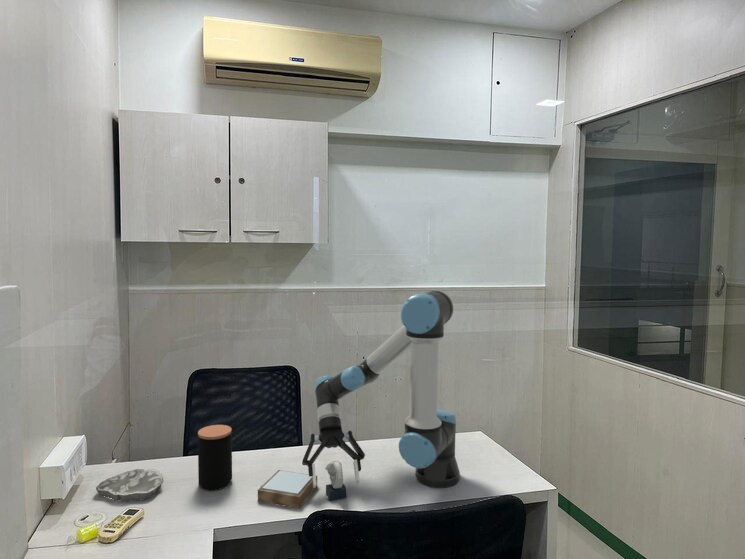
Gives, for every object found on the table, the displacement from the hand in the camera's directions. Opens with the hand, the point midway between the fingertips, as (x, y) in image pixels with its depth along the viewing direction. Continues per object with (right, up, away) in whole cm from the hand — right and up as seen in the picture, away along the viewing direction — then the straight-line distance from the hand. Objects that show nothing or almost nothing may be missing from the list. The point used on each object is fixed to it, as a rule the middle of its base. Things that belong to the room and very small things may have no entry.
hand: (336, 484), depth 150 cm
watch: (0, -5, +2) cm, 5 cm away
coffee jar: (-41, -4, +10) cm, 42 cm away
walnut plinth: (-16, -5, +3) cm, 17 cm away
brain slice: (-66, -4, +5) cm, 66 cm away
